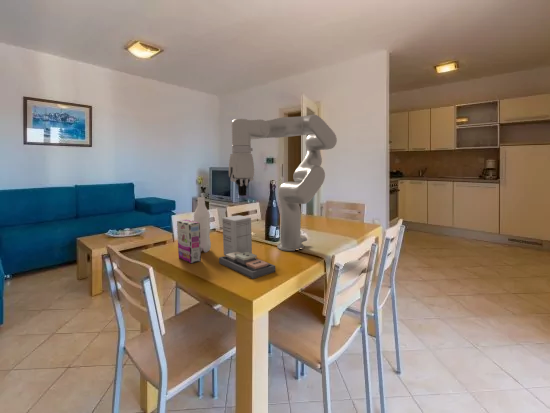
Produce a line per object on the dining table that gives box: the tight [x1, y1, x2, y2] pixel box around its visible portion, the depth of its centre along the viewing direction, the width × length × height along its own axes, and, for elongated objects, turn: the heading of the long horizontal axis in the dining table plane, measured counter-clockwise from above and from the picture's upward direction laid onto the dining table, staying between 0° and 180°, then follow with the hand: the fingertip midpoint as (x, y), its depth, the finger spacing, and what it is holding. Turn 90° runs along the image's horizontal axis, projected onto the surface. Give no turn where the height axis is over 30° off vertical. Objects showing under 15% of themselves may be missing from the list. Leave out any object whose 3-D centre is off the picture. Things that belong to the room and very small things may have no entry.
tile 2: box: [235, 252, 258, 265], centre depth 118 cm, size 6×6×3 cm
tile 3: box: [246, 258, 269, 271], centre depth 113 cm, size 6×6×3 cm
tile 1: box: [225, 252, 241, 263], centre depth 123 cm, size 6×6×3 cm
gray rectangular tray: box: [218, 252, 276, 280], centre depth 118 cm, size 11×23×2 cm, turn 41°
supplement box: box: [222, 215, 253, 256], centre depth 133 cm, size 10×9×17 cm
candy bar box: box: [176, 219, 202, 264], centre depth 127 cm, size 11×5×16 cm, turn 45°
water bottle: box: [193, 196, 212, 253], centre depth 138 cm, size 7×7×25 cm
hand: (242, 195), depth 126 cm, fingers closed
